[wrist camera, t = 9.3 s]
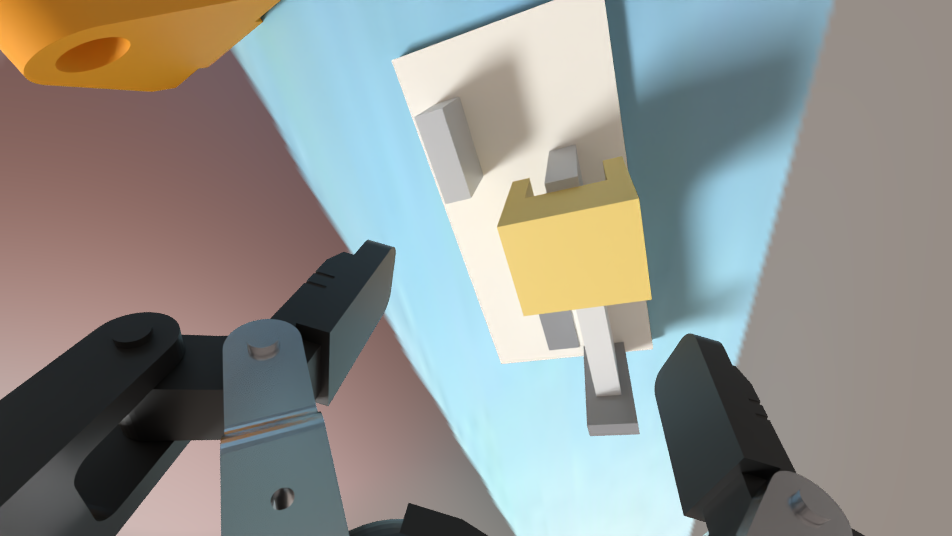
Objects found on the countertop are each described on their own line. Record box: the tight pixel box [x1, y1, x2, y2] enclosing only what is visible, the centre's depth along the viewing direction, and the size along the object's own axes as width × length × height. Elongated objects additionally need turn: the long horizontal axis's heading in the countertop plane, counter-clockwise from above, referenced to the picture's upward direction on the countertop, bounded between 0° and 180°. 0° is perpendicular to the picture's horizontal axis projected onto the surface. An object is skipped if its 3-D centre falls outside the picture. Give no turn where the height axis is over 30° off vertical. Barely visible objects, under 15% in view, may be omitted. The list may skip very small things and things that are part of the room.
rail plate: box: [392, 0, 653, 436], centre depth 25 cm, size 24×12×8 cm, turn 17°
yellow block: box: [497, 156, 652, 316], centre depth 21 cm, size 5×6×6 cm
